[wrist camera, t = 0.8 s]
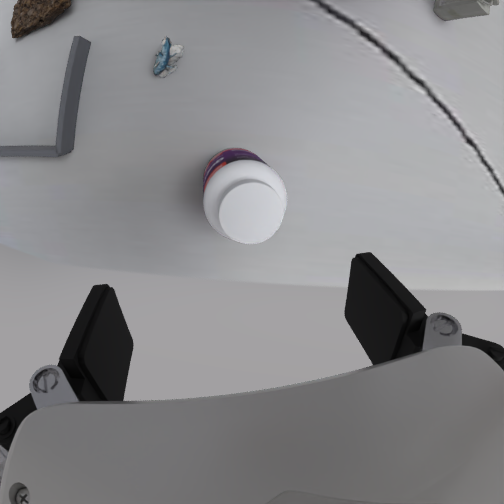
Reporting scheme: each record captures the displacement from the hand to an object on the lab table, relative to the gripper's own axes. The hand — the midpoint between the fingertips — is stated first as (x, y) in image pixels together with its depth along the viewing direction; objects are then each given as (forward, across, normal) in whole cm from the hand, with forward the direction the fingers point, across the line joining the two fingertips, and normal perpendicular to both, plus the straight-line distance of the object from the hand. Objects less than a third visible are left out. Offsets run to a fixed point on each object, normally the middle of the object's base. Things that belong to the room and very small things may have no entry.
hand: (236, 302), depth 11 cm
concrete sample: (+29, +22, -29) cm, 47 cm away
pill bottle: (+29, -2, +2) cm, 29 cm away
